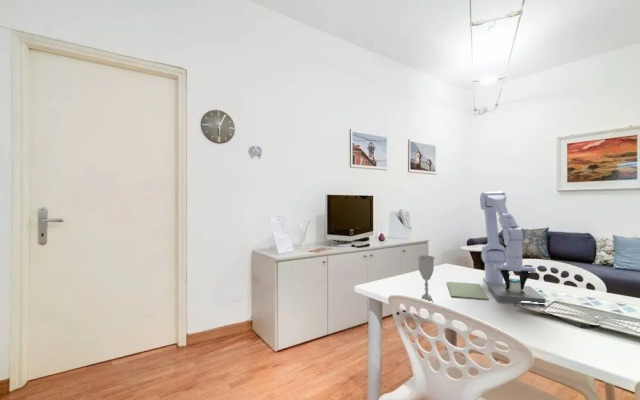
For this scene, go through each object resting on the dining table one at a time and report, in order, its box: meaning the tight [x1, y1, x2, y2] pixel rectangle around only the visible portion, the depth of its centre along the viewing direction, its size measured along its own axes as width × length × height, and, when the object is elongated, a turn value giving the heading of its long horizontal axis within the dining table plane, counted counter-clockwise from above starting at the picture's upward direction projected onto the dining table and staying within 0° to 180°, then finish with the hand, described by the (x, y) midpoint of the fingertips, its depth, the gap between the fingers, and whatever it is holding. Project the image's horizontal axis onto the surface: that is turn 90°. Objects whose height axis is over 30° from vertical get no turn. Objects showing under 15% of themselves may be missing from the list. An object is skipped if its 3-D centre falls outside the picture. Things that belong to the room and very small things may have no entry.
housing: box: [488, 283, 546, 304], centre depth 121 cm, size 16×16×2 cm
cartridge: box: [508, 277, 521, 293], centre depth 121 cm, size 4×4×7 cm
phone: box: [561, 319, 593, 329], centre depth 100 cm, size 8×1×15 cm
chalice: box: [417, 255, 435, 303], centre depth 118 cm, size 7×7×18 cm
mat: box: [446, 281, 490, 301], centre depth 129 cm, size 20×14×1 cm
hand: (514, 288), depth 121 cm, fingers closed on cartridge, 4 cm apart
